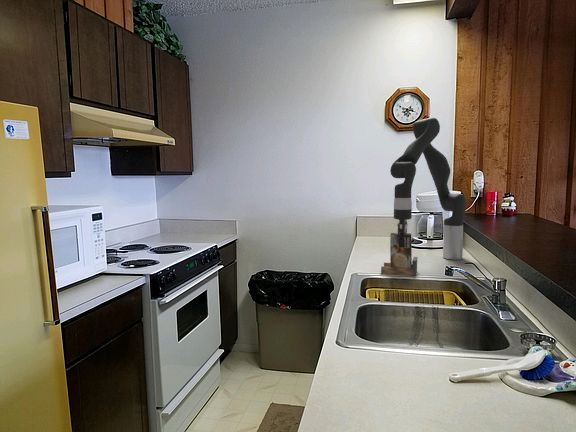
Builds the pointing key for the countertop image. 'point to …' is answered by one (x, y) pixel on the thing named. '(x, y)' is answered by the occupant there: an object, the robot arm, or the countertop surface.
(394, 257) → the coffee box
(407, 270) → the endcap cradle
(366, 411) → the countertop surface
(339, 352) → the countertop surface
